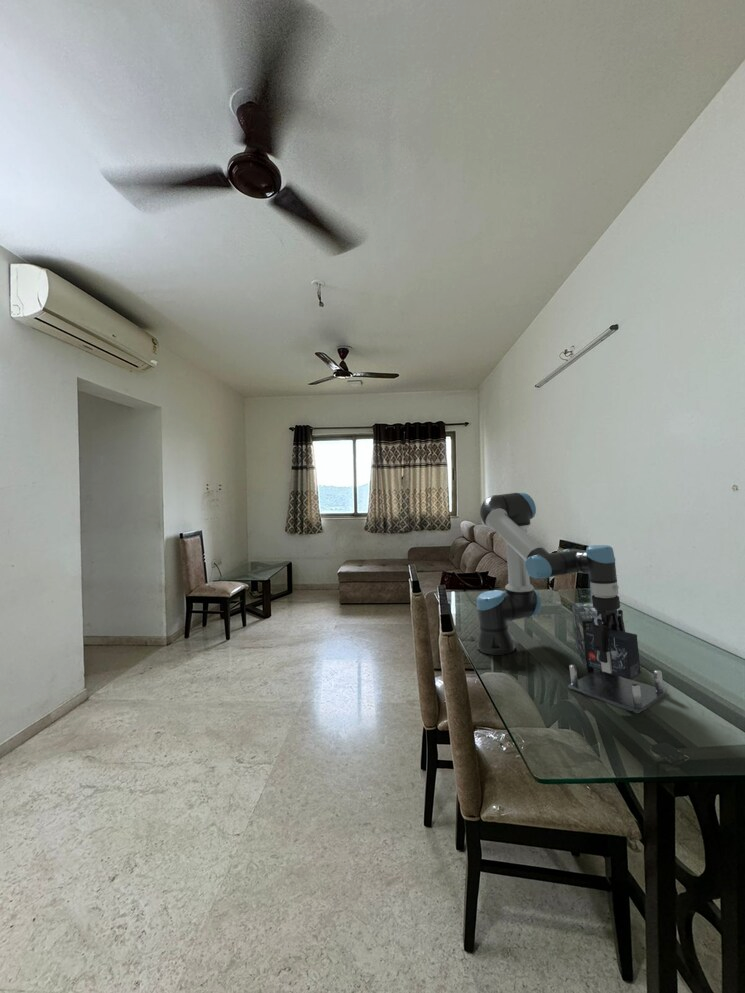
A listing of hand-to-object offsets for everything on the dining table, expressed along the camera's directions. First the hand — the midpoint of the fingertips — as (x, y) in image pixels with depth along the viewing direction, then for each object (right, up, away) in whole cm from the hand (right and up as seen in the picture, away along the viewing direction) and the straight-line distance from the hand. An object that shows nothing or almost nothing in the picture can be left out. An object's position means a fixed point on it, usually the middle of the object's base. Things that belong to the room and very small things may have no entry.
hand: (613, 668), depth 124 cm
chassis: (+1, -7, 0) cm, 7 cm away
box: (+8, -8, +23) cm, 25 cm away
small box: (0, -1, 0) cm, 1 cm away
